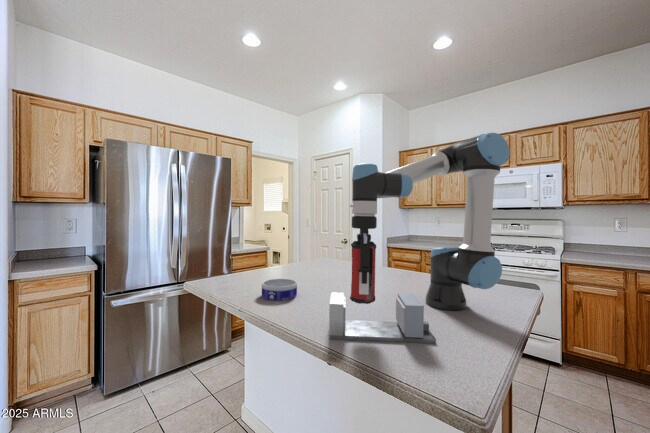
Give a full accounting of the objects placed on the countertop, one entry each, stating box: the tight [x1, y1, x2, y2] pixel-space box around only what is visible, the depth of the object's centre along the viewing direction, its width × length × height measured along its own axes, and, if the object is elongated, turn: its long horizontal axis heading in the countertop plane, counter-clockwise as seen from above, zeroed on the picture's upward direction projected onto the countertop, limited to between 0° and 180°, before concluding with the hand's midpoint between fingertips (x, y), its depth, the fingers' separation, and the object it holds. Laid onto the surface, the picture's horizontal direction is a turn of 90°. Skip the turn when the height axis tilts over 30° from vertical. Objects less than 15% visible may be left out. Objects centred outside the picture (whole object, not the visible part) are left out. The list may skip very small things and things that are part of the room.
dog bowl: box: [261, 278, 298, 302], centre depth 124 cm, size 15×15×6 cm
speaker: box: [349, 240, 377, 305], centre depth 87 cm, size 8×8×18 cm
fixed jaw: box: [328, 291, 347, 336], centre depth 88 cm, size 5×12×9 cm, turn 176°
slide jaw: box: [395, 292, 430, 338], centre depth 86 cm, size 9×12×9 cm
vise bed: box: [328, 319, 437, 344], centre depth 87 cm, size 30×12×1 cm, turn 86°
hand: (362, 290), depth 87 cm, fingers closed on speaker, 7 cm apart
